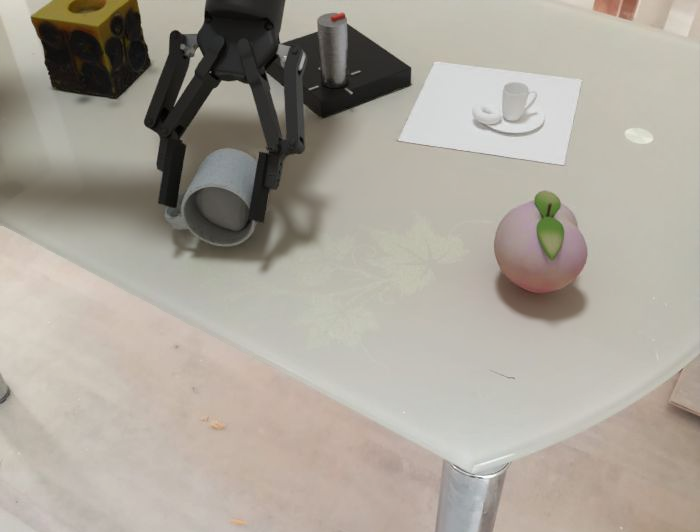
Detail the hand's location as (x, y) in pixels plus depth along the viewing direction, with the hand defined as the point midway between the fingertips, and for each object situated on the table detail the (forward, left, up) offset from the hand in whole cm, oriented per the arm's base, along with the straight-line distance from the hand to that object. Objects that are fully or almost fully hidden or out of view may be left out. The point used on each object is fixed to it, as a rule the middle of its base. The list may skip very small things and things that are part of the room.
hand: (211, 213), depth 77 cm
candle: (-43, +4, -6) cm, 44 cm away
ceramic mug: (-3, +2, -4) cm, 5 cm away
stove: (-24, +30, -5) cm, 38 cm away
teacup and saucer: (-5, +42, -6) cm, 42 cm away
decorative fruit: (+22, +24, -6) cm, 33 cm away
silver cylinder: (-19, +27, -3) cm, 33 cm away
